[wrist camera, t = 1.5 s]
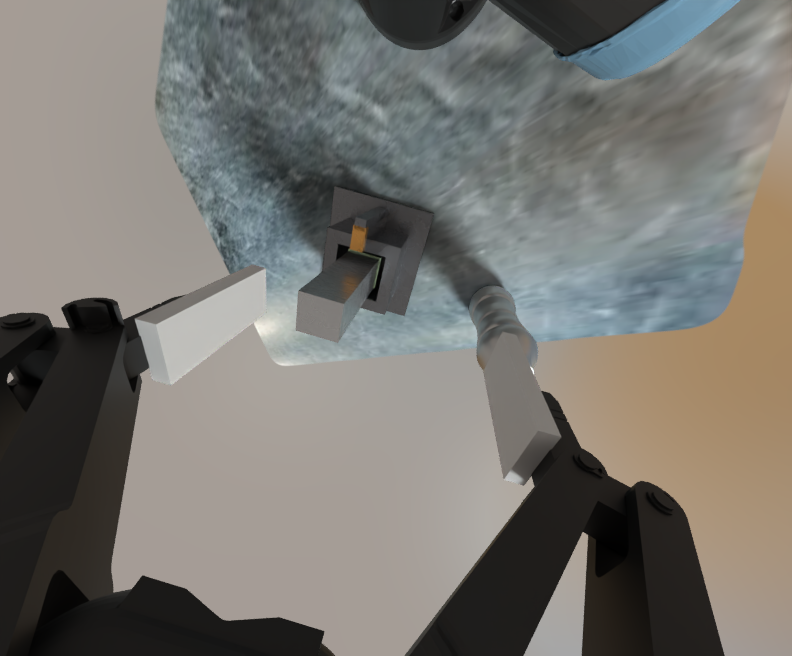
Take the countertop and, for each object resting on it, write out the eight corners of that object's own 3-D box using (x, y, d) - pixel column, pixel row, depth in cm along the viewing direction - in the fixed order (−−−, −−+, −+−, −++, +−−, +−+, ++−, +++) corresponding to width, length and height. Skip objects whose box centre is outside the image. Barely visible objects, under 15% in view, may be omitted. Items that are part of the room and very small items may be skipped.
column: (360, 239, 41) (296, 288, 23) (389, 247, 41) (346, 303, 23) (355, 269, 43) (293, 334, 26) (382, 277, 43) (338, 347, 26)
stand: (336, 185, 39) (296, 190, 29) (434, 213, 39) (429, 228, 28) (324, 289, 47) (290, 323, 37) (405, 313, 47) (393, 353, 36)
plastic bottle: (465, 319, 46) (476, 409, 28) (470, 279, 42) (486, 353, 25) (506, 322, 45) (544, 417, 27) (515, 281, 41) (564, 360, 24)
